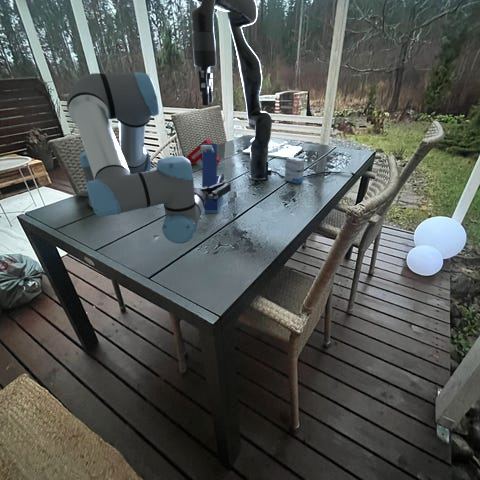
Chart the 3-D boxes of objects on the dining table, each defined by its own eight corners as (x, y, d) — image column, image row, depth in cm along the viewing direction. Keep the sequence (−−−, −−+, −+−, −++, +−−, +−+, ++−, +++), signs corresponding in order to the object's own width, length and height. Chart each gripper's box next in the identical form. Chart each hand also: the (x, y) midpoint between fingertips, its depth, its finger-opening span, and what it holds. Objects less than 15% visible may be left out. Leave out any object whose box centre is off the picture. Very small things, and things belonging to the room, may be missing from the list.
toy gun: (224, 159, 165) (208, 138, 162) (221, 161, 162) (205, 139, 158) (204, 174, 175) (189, 154, 172) (201, 176, 172) (186, 156, 168)
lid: (203, 144, 106) (198, 137, 98) (217, 144, 106) (213, 137, 97) (202, 187, 108) (198, 185, 99) (216, 188, 107) (213, 185, 99)
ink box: (302, 181, 142) (305, 159, 136) (297, 184, 139) (300, 161, 133) (289, 177, 147) (291, 156, 141) (284, 180, 144) (285, 158, 138)
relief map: (291, 159, 177) (291, 151, 174) (243, 153, 190) (243, 145, 187) (302, 149, 197) (303, 142, 194) (258, 144, 211) (258, 137, 208)
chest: (210, 197, 127) (208, 175, 121) (222, 197, 127) (221, 175, 121) (204, 212, 113) (202, 189, 107) (217, 213, 113) (216, 189, 107)
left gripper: (149, 215, 79) (169, 186, 96) (234, 217, 78) (239, 188, 95) (144, 191, 75) (166, 166, 92) (234, 193, 73) (239, 167, 91)
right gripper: (197, 50, 96) (201, 101, 105) (188, 48, 84) (193, 106, 93) (218, 50, 96) (220, 101, 105) (212, 48, 84) (215, 106, 93)
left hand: (203, 177), depth 94 cm, fingers open, 13 cm apart
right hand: (207, 103), depth 99 cm, fingers open, 8 cm apart
